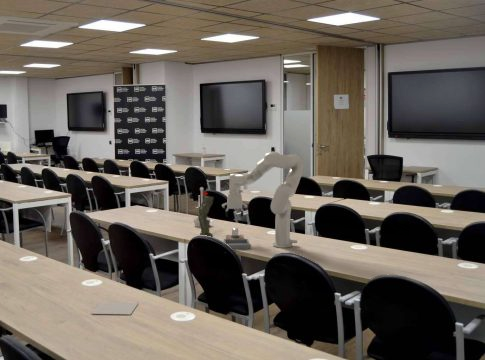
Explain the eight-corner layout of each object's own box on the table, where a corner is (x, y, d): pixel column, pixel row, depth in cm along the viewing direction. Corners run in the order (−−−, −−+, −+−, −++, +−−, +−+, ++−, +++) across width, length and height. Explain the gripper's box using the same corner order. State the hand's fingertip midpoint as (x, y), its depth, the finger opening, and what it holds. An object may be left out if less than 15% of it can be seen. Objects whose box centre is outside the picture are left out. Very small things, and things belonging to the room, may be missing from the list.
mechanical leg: (200, 239, 355) (206, 195, 357) (192, 237, 359) (198, 194, 361) (213, 240, 366) (219, 197, 368) (205, 238, 370) (211, 196, 372)
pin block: (243, 238, 361) (243, 234, 361) (244, 242, 349) (244, 238, 349) (226, 238, 361) (226, 234, 360) (226, 242, 349) (226, 238, 348)
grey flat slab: (124, 324, 210) (124, 323, 210) (63, 323, 211) (63, 321, 211) (138, 304, 233) (138, 302, 233) (83, 303, 234) (83, 301, 234)
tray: (247, 243, 347) (247, 238, 346) (249, 249, 331) (249, 244, 330) (223, 243, 346) (223, 239, 345) (224, 249, 330) (224, 244, 329)
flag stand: (196, 227, 396) (195, 188, 392) (191, 224, 408) (191, 186, 404) (212, 226, 400) (212, 187, 397) (207, 223, 412) (207, 185, 409)
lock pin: (238, 239, 357) (238, 228, 356) (238, 241, 353) (238, 229, 352) (231, 239, 357) (231, 228, 356) (232, 241, 353) (232, 229, 352)
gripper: (247, 191, 355) (246, 216, 358) (221, 191, 354) (221, 215, 356) (248, 193, 348) (247, 218, 350) (222, 192, 347) (221, 218, 349)
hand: (234, 217), depth 353 cm, fingers open, 9 cm apart
